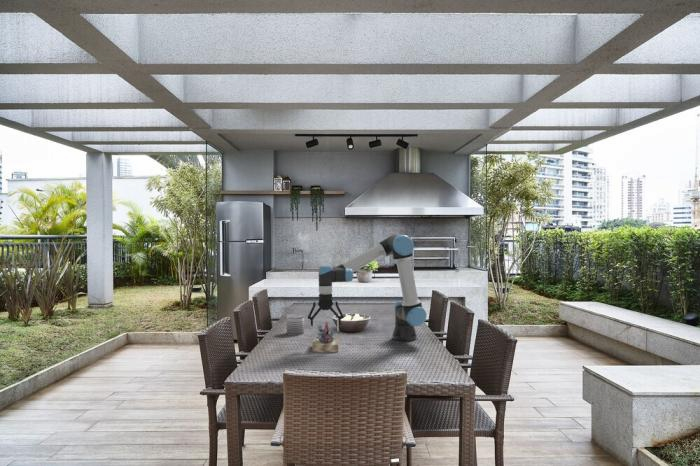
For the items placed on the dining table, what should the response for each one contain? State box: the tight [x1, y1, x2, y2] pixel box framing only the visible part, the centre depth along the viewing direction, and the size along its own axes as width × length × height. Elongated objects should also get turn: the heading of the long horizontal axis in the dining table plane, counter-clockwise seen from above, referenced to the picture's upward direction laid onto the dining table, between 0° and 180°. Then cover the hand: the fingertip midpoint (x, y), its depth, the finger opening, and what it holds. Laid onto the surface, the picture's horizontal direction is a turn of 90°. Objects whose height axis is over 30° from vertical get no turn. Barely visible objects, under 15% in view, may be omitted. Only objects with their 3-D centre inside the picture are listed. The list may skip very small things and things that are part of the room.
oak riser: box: [311, 338, 339, 353], centre depth 268 cm, size 14×15×4 cm
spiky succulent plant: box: [315, 321, 336, 343], centre depth 269 cm, size 11×11×12 cm
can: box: [286, 313, 305, 336], centre depth 310 cm, size 11×11×12 cm
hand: (325, 331), depth 268 cm, fingers open, 13 cm apart
